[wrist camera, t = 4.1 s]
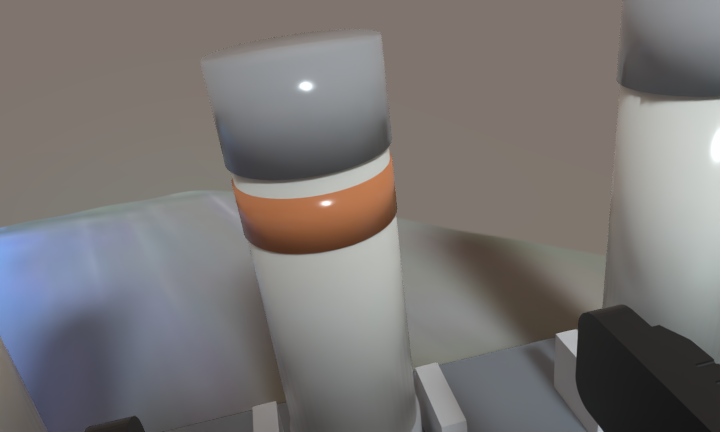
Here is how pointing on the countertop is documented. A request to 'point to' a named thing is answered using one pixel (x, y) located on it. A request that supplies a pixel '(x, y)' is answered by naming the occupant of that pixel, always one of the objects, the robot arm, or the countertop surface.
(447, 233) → the countertop surface
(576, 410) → the fuse board
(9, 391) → the fuse
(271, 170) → the fuse marked
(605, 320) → the robot arm
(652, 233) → the fuse
